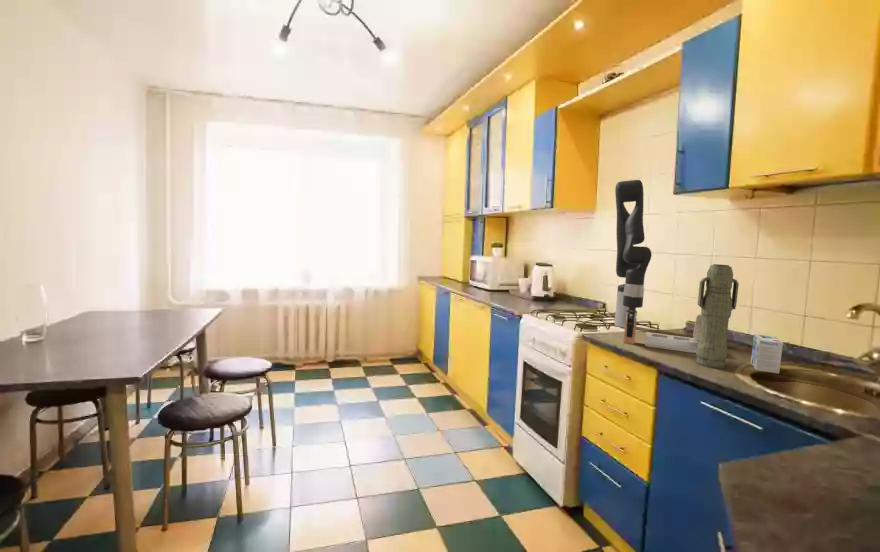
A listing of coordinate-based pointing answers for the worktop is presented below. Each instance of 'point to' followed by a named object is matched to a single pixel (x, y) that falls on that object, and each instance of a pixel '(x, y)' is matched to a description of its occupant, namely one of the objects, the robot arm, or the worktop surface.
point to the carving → (697, 327)
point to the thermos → (715, 315)
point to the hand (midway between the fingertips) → (629, 335)
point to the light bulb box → (766, 353)
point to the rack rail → (671, 342)
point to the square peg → (629, 339)
